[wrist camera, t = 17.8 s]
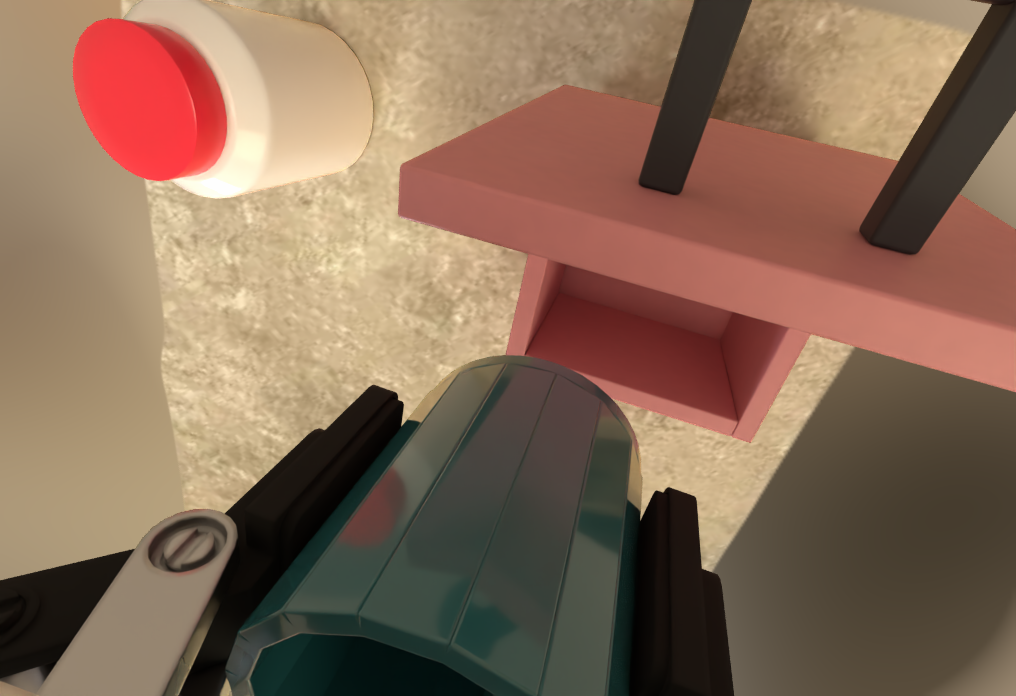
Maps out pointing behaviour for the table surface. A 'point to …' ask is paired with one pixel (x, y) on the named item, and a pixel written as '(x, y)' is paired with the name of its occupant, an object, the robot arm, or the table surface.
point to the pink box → (655, 346)
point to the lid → (757, 204)
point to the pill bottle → (222, 96)
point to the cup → (468, 553)
